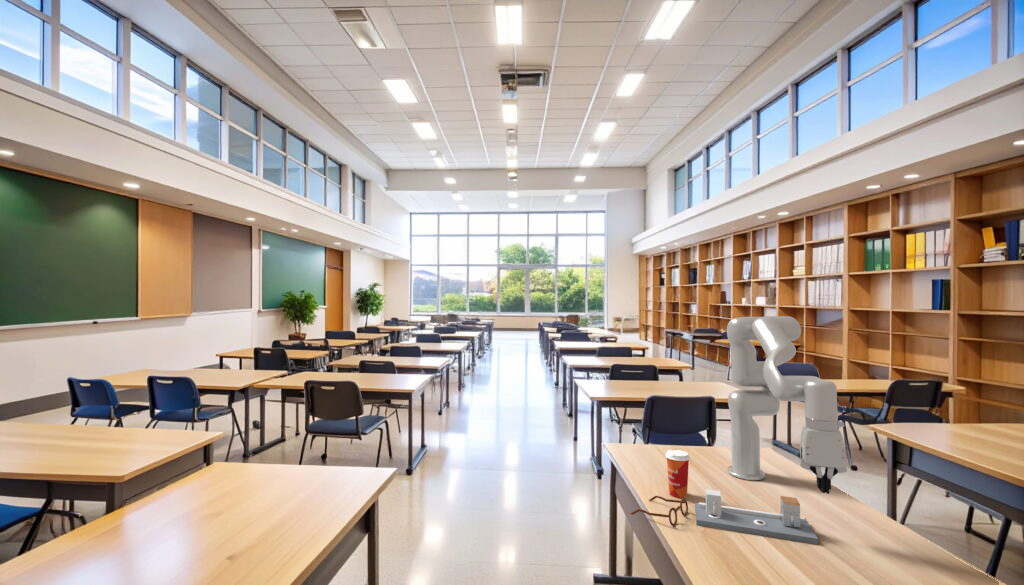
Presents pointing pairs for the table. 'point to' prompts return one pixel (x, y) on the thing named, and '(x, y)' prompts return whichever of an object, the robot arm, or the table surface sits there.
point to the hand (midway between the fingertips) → (824, 491)
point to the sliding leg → (790, 511)
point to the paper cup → (677, 473)
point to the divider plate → (749, 520)
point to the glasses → (669, 510)
